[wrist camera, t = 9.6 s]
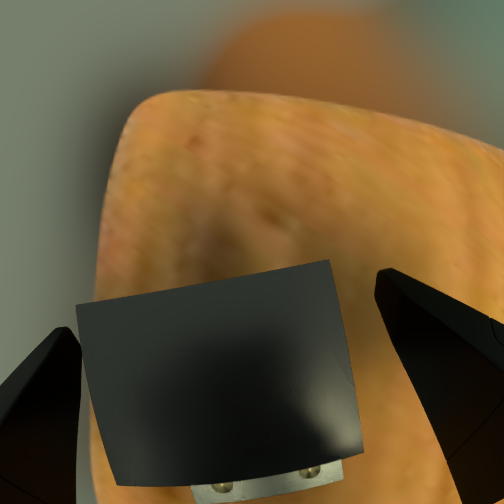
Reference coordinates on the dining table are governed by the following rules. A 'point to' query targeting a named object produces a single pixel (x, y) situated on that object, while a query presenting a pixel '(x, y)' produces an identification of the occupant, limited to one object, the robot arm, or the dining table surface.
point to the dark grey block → (222, 379)
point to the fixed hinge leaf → (268, 485)
